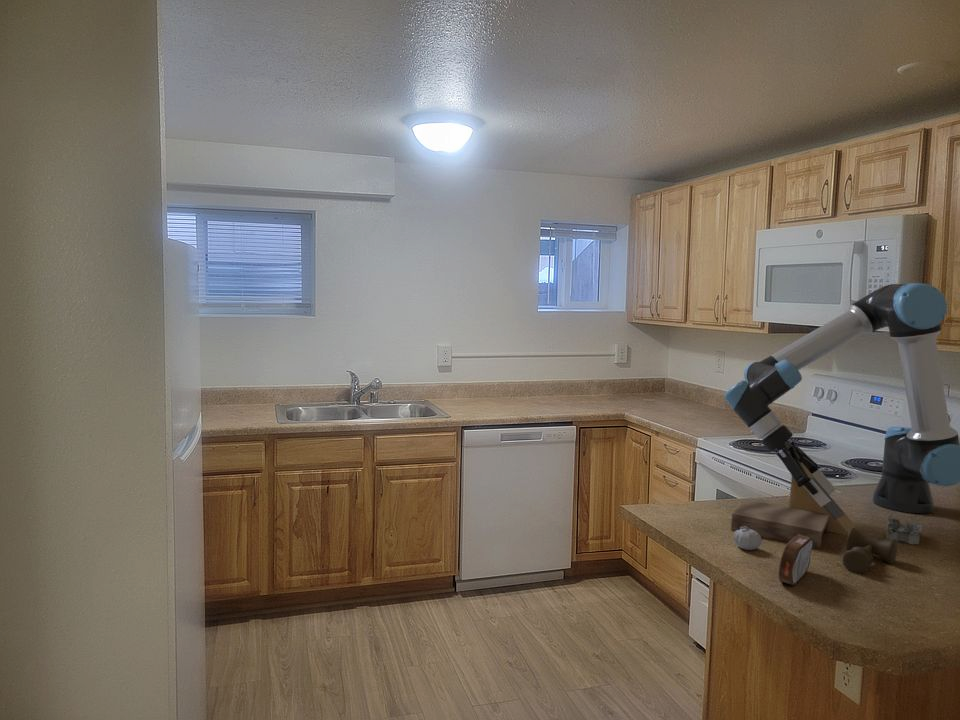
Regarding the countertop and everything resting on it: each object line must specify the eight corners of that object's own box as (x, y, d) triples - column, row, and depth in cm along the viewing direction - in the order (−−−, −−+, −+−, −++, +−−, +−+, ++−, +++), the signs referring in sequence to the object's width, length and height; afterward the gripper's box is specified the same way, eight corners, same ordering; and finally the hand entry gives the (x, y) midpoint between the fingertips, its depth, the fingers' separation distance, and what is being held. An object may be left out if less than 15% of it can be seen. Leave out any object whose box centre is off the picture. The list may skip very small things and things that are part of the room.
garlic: (731, 549, 157) (733, 527, 156) (733, 542, 161) (735, 521, 161) (760, 554, 154) (762, 532, 154) (761, 547, 159) (762, 525, 159)
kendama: (828, 568, 149) (854, 544, 164) (878, 583, 143) (901, 557, 157) (831, 542, 148) (857, 520, 163) (882, 556, 142) (904, 532, 157)
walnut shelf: (828, 531, 173) (829, 514, 173) (820, 549, 159) (821, 531, 159) (745, 514, 184) (746, 499, 183) (730, 530, 170) (732, 513, 170)
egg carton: (887, 529, 178) (889, 513, 177) (921, 536, 173) (923, 520, 173) (883, 539, 169) (884, 523, 169) (919, 547, 165) (921, 530, 164)
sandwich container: (852, 537, 169) (858, 478, 168) (787, 522, 179) (792, 466, 178) (859, 529, 176) (865, 472, 175) (796, 515, 186) (801, 461, 184)
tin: (797, 566, 148) (800, 528, 147) (812, 570, 146) (816, 532, 145) (775, 587, 136) (779, 546, 136) (792, 592, 134) (796, 550, 134)
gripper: (769, 434, 196) (822, 495, 189) (750, 447, 175) (809, 517, 168) (790, 418, 192) (846, 480, 186) (774, 430, 172) (836, 500, 165)
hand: (829, 498), depth 177 cm, fingers open, 13 cm apart
